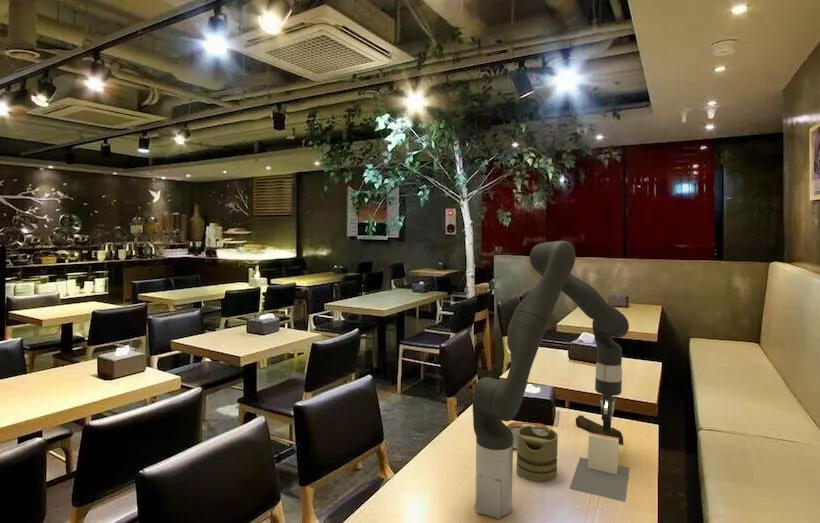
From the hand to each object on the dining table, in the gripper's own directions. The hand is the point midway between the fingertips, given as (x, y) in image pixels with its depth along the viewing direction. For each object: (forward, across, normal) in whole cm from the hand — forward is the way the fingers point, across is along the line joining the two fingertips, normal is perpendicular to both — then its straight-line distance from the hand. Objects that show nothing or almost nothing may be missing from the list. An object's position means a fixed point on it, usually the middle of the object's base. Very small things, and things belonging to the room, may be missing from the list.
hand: (606, 431), depth 153 cm
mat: (+8, -15, 0) cm, 17 cm away
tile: (+8, -10, 0) cm, 12 cm away
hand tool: (+8, +16, +3) cm, 18 cm away
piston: (+8, -20, +17) cm, 27 cm away
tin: (+8, -6, +23) cm, 25 cm away
